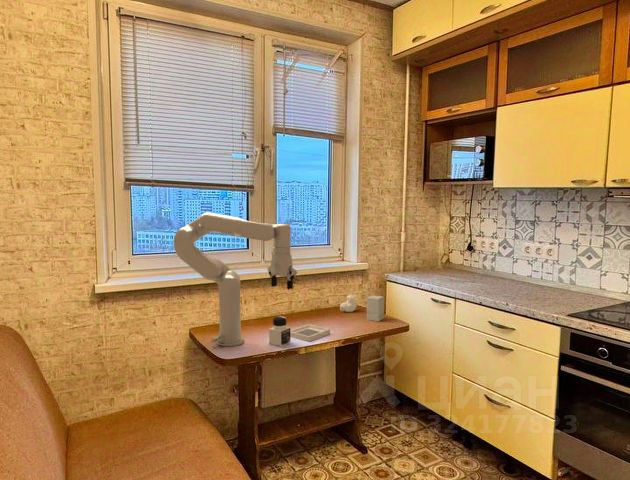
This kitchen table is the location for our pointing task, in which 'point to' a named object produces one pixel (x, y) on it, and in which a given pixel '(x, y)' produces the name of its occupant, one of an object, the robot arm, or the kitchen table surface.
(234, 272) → the robot arm
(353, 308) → the bust
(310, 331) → the tray
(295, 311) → the kitchen table surface
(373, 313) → the supplement box
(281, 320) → the medicine bottle
